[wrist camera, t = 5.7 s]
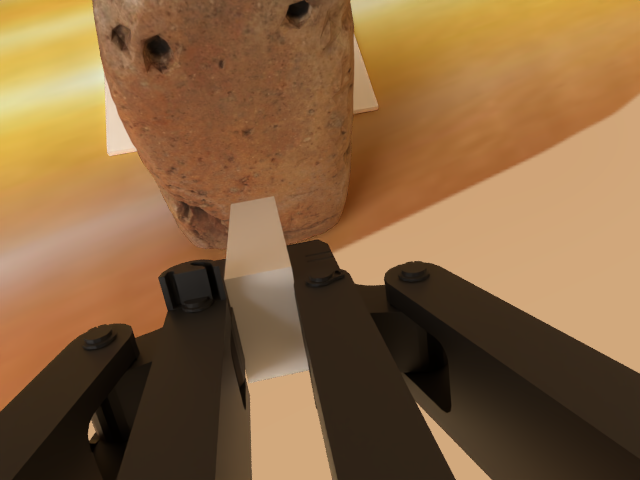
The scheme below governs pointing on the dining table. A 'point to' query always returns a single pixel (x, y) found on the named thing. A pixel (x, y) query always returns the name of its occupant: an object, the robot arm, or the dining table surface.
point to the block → (236, 105)
